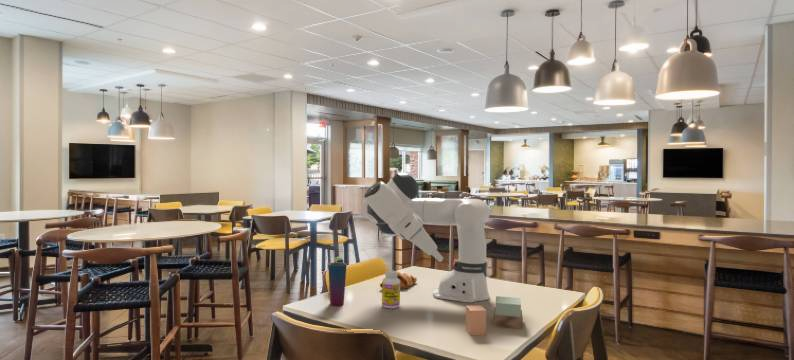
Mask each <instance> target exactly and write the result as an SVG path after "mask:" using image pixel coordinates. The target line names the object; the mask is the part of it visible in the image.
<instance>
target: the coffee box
mask: <svg viewBox="0 0 794 360" xmlns="http://www.w3.org/2000/svg"><path fill="white" fill-rule="evenodd" d="M334 262H342V263H344V259H343V258H342V257H341V256H335V257H334Z"/></svg>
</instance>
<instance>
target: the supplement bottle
mask: <svg viewBox="0 0 794 360" xmlns="http://www.w3.org/2000/svg"><path fill="white" fill-rule="evenodd" d="M384 275H385V277H384V278H383V279H382V281H381V283H382V288H381V306H382V308H384V309H397V308H399V307H400V305H401V303H400V302H401V289H400V280H399V279H398V278H397V276H398V271H396V270H392V269H391V270H385V271H384Z"/></svg>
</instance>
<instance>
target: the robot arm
mask: <svg viewBox="0 0 794 360" xmlns="http://www.w3.org/2000/svg"><path fill="white" fill-rule="evenodd" d="M419 188H420V187H419V184H418V182H417V180H416V179H415V178H414V177H413V176H412V175H411V174H409V173H407V172H397V173H395V174H394V175H393V177H391V179H390V180H389V181H388V182H387V183H385V182H384V181H378V182H375V183H374V184H372V185H370V187H368V189H367V190H366V191H365V193H364V196H363V198H364V199H363V200H362V203H361V213H362V215H363V216H364V218H366V219H367V220H368V221H371V222H372V223H373V222H374V223H375V225H376V227H377V228H378V230H379V231H380V232H381V233H382V234H384V235H385V236H388V237H395V236H397V237H399V239H400V240H406V241H410V242H411V243H412V244H413V245H414V246H417V248H419V249H420V250H421V251H422V252H424V253H425V254H426V255H427V256H432V257H433V258H435V259H436V260H437V261H438V262H439V263H441V262H443V260H444V256H443V255H442V254H441V253H440V252H439V251H438V250H437V249H438V245H437V244H436V241H434V240H433V238H432V237H431V236H430V235H429V234H428V232H427V231H426V230H425V228H424V225H430V226H431V225H433V226H456V231H457V239H458V259H453V261H452V270H451V271H449V272H448V273H447V274H445V275H444V276H443V277H441V278H440V281H439V282H438V283H439V285H438V287H437V288H436V289H434V290H433V292H432V294H433V295H432V296H433V297H434V298H436V299H442V300H450V301H455V302H463V303H471V304H472V303H475V302H480V301H481V302H482V301H486V300H488V299H490V298H491V297H490V293H489V288H488V283H487V282H488V281H487V276H488V261H487V239H486V232H485V223H486V222H488V220H489V218H490V213H491V212H490V207H489V206H488V204H487V203H486V202H485V201H483V200H482V199H479V198H437V197H435V198H434V197H433V198H432V197H418V196H419V192H420V191H419V190H420V189H419ZM417 197H418V198H417Z"/></svg>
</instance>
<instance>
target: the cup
mask: <svg viewBox="0 0 794 360" xmlns="http://www.w3.org/2000/svg"><path fill="white" fill-rule="evenodd" d="M327 265H328V266H327V268H328V283H329V284H328V285H329V304H330V305H331V306H333V307H341V306H343V305H344V304H345V294H346V293H345V290H346V281H347V279H346V278H347V266H348V264H347V263H346V262H343V263H342V262H335V261H334V262H329V263H327Z"/></svg>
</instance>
